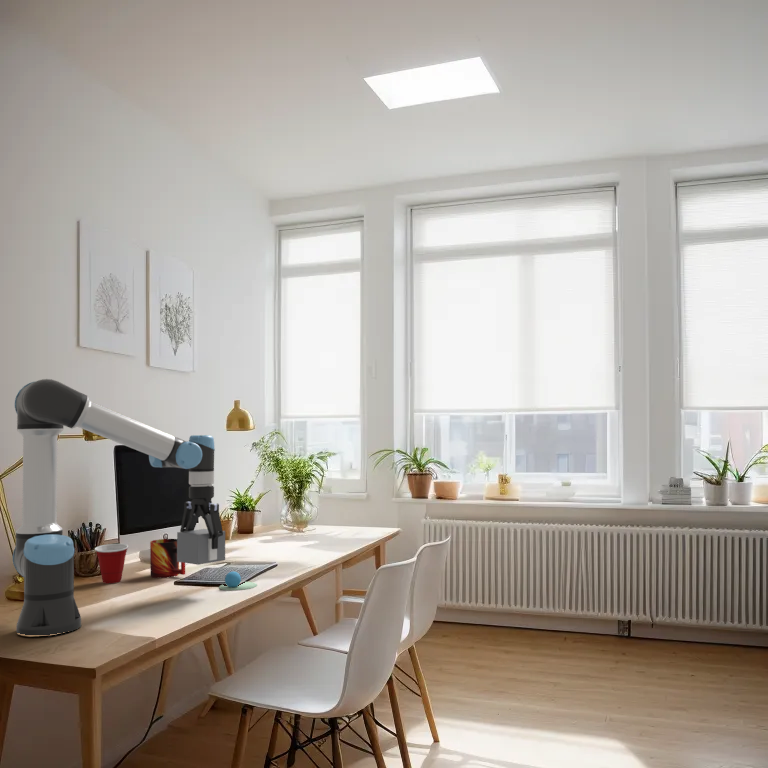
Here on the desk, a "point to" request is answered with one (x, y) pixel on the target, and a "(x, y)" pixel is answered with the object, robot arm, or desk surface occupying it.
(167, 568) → the mug
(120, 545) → the plastic cup
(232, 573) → the ball
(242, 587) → the disc
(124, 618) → the desk surface
